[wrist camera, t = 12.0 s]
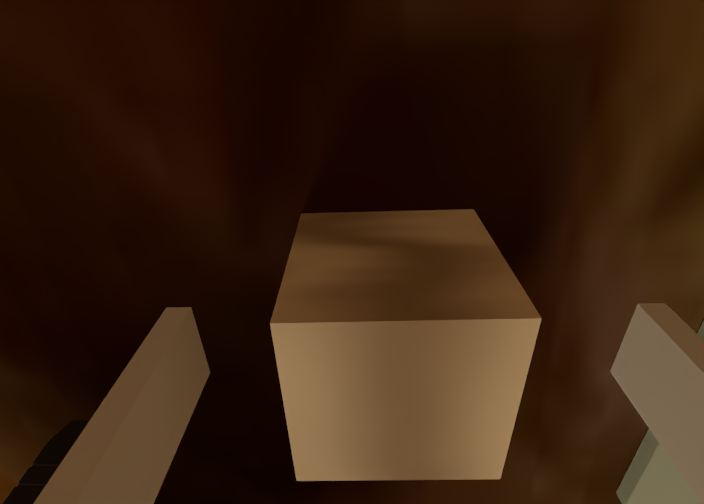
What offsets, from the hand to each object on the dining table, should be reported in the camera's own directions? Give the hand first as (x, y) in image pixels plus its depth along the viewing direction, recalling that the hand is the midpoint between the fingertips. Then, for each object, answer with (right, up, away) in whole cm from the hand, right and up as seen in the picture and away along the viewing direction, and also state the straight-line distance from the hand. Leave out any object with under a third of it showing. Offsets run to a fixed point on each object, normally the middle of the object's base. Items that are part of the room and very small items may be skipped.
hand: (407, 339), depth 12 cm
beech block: (0, +2, +3) cm, 4 cm away
